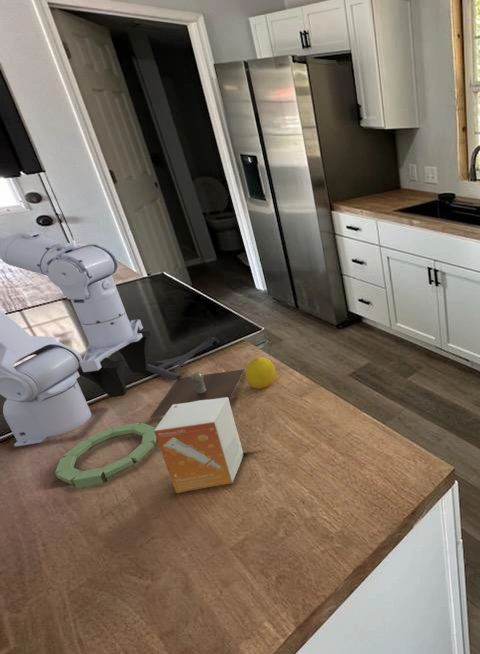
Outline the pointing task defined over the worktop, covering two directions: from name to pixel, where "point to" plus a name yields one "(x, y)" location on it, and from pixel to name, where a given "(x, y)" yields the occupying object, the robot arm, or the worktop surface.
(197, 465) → the small box
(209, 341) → the bracket
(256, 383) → the lemon
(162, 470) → the worktop surface
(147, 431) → the ring
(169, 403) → the stand
